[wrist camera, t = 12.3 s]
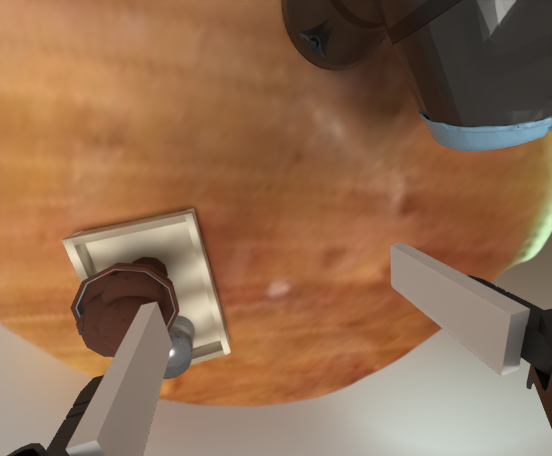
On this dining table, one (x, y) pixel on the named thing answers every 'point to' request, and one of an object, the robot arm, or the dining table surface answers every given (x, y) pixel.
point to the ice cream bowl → (121, 302)
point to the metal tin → (180, 347)
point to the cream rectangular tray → (179, 263)
